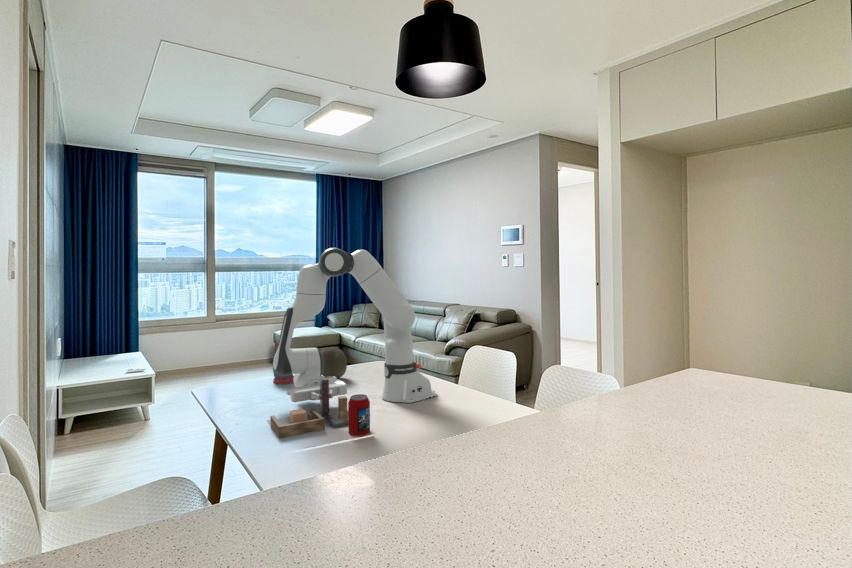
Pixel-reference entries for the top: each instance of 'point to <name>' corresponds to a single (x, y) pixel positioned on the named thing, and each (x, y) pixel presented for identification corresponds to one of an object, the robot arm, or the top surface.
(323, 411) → the hook tool
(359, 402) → the beverage can
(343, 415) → the plain rod
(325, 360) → the cantaloupe
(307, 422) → the wooden tray
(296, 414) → the block
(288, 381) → the stacking bear
